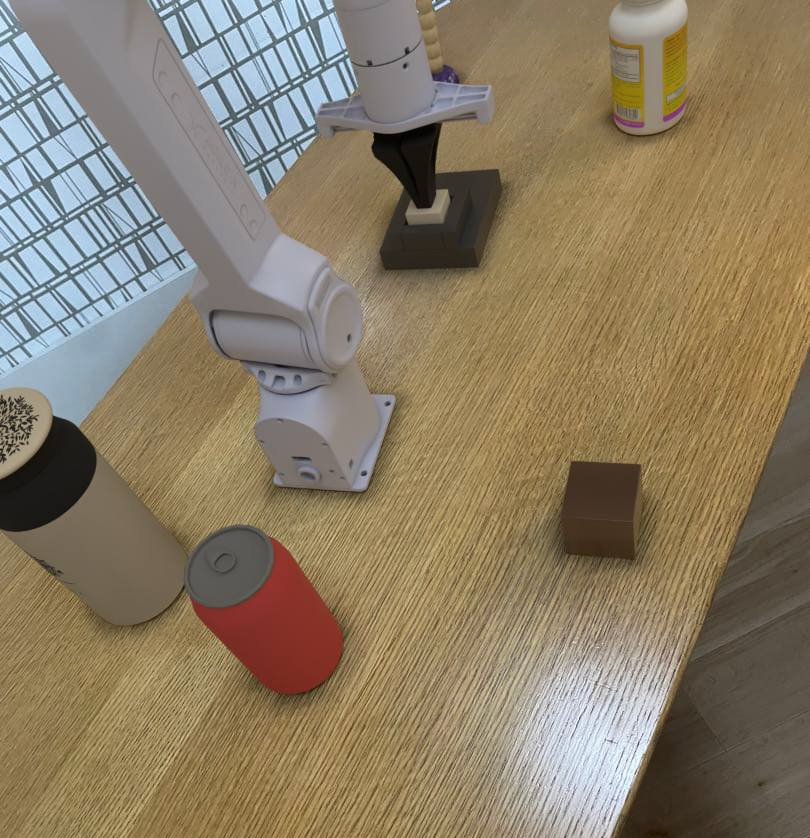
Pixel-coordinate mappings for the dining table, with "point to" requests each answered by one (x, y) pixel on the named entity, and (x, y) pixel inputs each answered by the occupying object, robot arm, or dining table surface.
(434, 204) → the key
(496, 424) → the dining table surface
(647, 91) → the supplement bottle
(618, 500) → the walnut block
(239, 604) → the beer can
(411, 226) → the button base
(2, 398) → the travel mug
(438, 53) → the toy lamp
